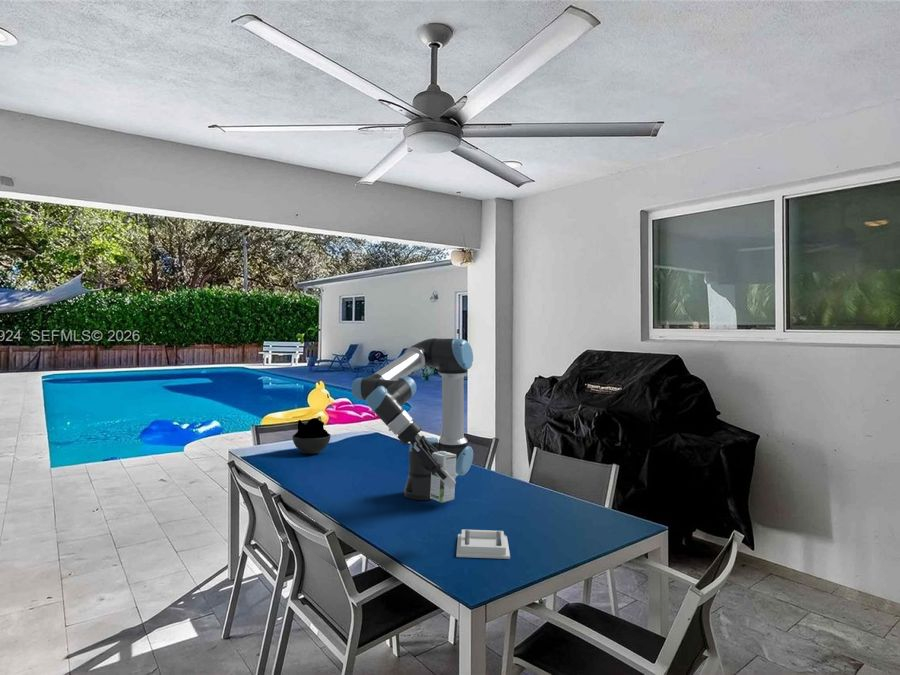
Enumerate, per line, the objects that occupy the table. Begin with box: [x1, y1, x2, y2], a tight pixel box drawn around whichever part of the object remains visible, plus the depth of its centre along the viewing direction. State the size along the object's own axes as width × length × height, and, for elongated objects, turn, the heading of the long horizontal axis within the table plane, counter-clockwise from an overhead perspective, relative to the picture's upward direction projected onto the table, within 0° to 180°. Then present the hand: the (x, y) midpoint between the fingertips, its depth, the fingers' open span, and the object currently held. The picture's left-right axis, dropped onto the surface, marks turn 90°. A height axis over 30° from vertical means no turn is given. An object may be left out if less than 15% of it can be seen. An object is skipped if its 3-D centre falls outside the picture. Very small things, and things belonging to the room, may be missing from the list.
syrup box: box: [430, 451, 456, 504], centre depth 167 cm, size 6×6×14 cm
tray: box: [456, 529, 511, 560], centre depth 166 cm, size 16×16×5 cm
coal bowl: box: [292, 417, 332, 455], centre depth 287 cm, size 20×20×19 cm
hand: (453, 481), depth 167 cm, fingers closed on syrup box, 8 cm apart
